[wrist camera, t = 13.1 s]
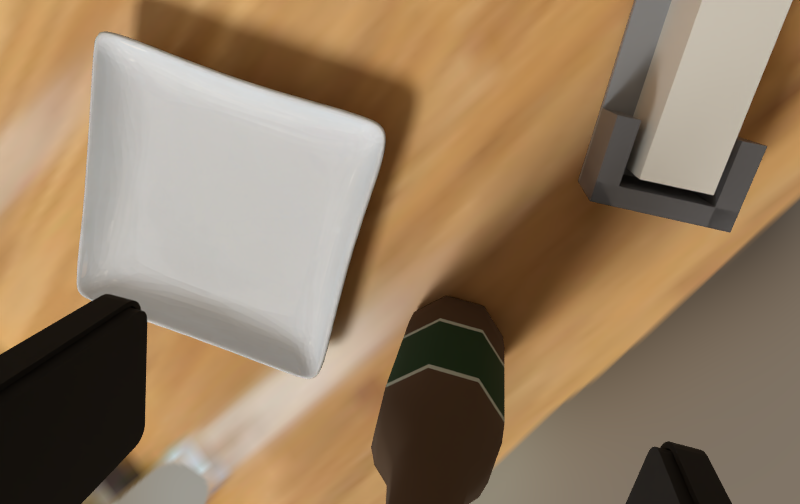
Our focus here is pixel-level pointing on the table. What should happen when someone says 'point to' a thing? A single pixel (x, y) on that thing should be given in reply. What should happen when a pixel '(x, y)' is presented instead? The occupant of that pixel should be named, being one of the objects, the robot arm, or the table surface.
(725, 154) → the beige rectangular block
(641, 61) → the endcap jig
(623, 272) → the table surface
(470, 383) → the beer bottle
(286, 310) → the salad plate
